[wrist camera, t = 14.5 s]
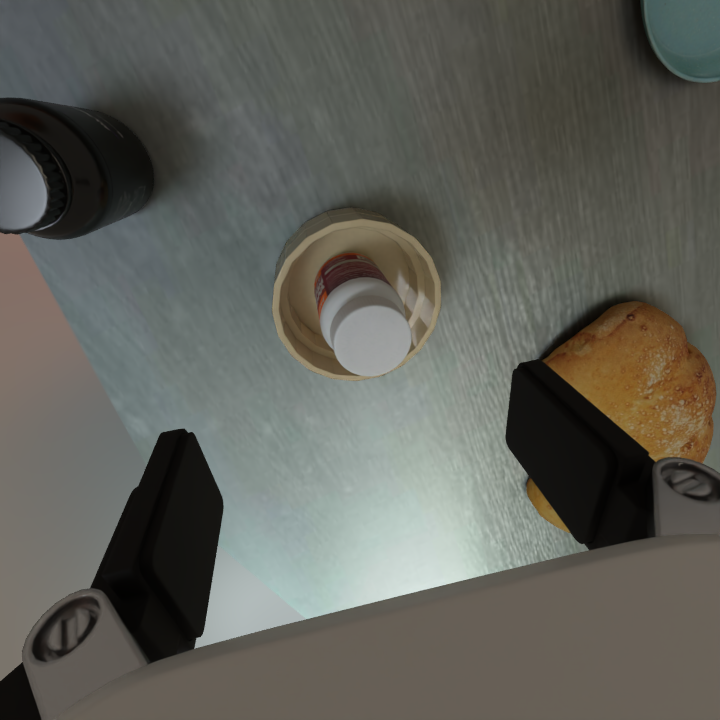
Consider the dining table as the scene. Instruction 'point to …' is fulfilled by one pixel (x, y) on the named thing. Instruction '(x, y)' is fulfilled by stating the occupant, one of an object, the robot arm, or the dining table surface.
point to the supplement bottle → (67, 170)
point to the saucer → (685, 36)
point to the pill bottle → (361, 315)
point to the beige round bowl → (359, 235)
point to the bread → (639, 384)
